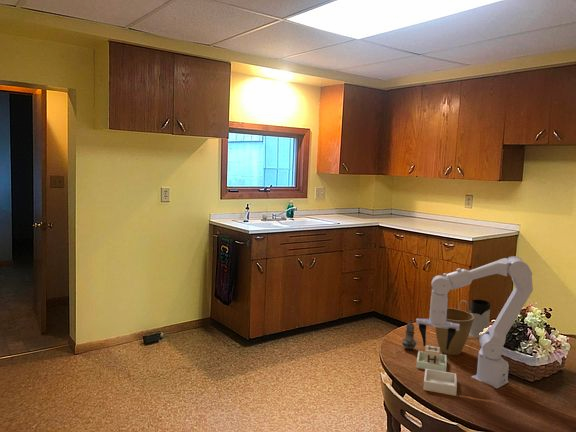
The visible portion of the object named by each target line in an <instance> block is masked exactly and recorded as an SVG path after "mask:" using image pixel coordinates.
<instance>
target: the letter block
mask: <svg viewBox="0 0 576 432" xmlns="http://www.w3.org/2000/svg"><path fill="white" fill-rule="evenodd" d="M424 352H425V360H424V362H428V363H434V364H439V354H441V351H440V347H439V346H432V345H425V349H424Z"/></svg>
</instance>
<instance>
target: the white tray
mask: <svg viewBox="0 0 576 432" xmlns="http://www.w3.org/2000/svg"><path fill="white" fill-rule="evenodd" d="M457 385H458V381H457V373H453V372H449V371H446V372H443V371H437V370H431V369H424V378H423V391H429V392H432V393H433V392H434V393H440V394H445V395H450V396H456V397H457V390H458V389H457V388H458V386H457Z"/></svg>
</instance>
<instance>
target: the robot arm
mask: <svg viewBox="0 0 576 432" xmlns="http://www.w3.org/2000/svg"><path fill="white" fill-rule="evenodd" d="M494 275H501V276H504V277H508V275H509V276H510V277H511V281H512V282H513V285H514V288H513V290H512V291H511V293H510V295H509V297H507V300H506V302H505V303H504V305H503V307H502V308H501V310H500V312H499V313H498V315H497V317H496V319H495V320H494V322H493V323H492V325H491V326H489V328H488V330H487V331H486V332H485V333H483V334H482V335H481V336H480V338H478V339H479V340H478V341H479V346H481V347H480V350H478V357H477V365H476V374H474V375H471V378H472V379H474V380H475V379H476V380H477V381H479V382H483V383H485V384H486V385H489V386H491V387H492V388H494V389H499V388H501V387H503V386H505V385H507V384H509V380H508V378H509V369H510V368H509V367H510V365H509V362H508V360H505V359H504V358H503V357H502V355H503V352H504V351H503V349H504V345H505V344H506V339H507V334H508V333H509V331H510V329H511V328H512V326H513V325H514V323H515V322H516V319H517V318H518V316H519V315H520V313H521V311H522V310H523V309H524V306H525V305H526V303H527V301H528V299H529V298H530V296H531V295H532V293H533V290H534V285H533V272H532V269H531V267H530V266H529V265H528V264H527V263H526V262H525V261H524V260H523V259H522V258H521V257H519V256H516V255H515V256H514V255H512V256H508V258H507V257H504V258H499V259H498V260H495V261H492V262H490V263H487V264H484V265H481V266H479V267H476V268H472V269H470V270H468V269H466V268H462V269H461V268H460V267H459V268H456V270H455V271H451V272H449V273H446V272H445V273H442V275H441V274H439V275H435V276H434V277H433V278H432V280H431V282H430V285H431V287H432V288H431V293H430V294H431V296H430V301H429V302H430V304H429V316H428V317H429V318H416V319H415V326H418V329H419V333H420V335H421V338H422V343H423V347H426V342H427V340H426V339H427V338H426V337H427V336H426V334H427V327H432V328H435V327H438V328H445V329H448V335H447V343H446V349H447V350H448V348H449V345H450V342H451V340H452V338H453V337H454V335H455V333H456V331H459V324H456V323H452V322H447V321H446V317H447V308H448V301H449V298H448V293H449V292H450V291H451V290H452V291H453V290H457V289H460V288H463V287H466V286H469V285H471V283H472V282H473V281H474V280H478V279H481V278H485V277H489V276H494Z"/></svg>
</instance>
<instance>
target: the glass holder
mask: <svg viewBox="0 0 576 432" xmlns="http://www.w3.org/2000/svg"><path fill="white" fill-rule="evenodd" d="M462 302H465V303H466V306H467V312H468V313H470V314H472V315H473V317H474V319H473V323H472V326H471V330H470V333H469V336H470V337H472V338H476V339H479V338H480V336H479V333H480V332H482V331H483V329H484V328H487V327H488V326H489V327H490V317H491V302H490V301H488V300H485V299H472V300H471V307H470V305H469V303H468V302H467V300H463V299H462V300H460V302H459V303H458V310H461V303H462ZM470 308H471V309H470ZM469 336H468V337H469Z"/></svg>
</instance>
